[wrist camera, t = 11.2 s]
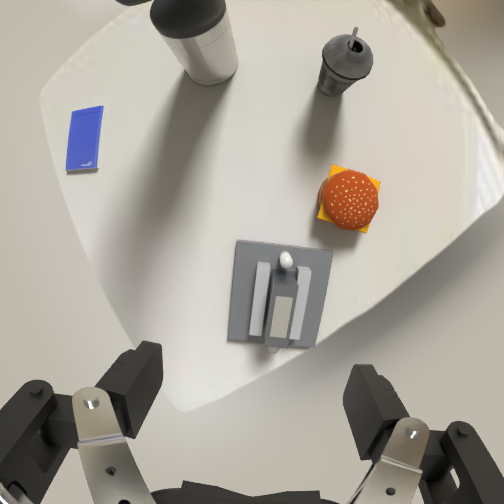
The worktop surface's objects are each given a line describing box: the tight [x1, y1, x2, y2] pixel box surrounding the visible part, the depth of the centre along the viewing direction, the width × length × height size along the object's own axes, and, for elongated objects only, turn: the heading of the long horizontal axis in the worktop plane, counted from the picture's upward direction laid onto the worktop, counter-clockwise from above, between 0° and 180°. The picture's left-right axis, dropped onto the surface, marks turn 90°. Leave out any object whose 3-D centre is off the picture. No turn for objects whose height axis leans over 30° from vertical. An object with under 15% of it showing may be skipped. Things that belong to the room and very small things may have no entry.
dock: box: [228, 240, 333, 354], centre depth 47 cm, size 18×16×6 cm
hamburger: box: [317, 165, 380, 233], centre depth 43 cm, size 9×10×7 cm
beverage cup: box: [318, 27, 373, 97], centre depth 32 cm, size 7×7×20 cm
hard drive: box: [66, 106, 105, 171], centre depth 45 cm, size 2×8×12 cm
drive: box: [264, 269, 299, 348], centre depth 44 cm, size 10×4×8 cm, turn 173°
